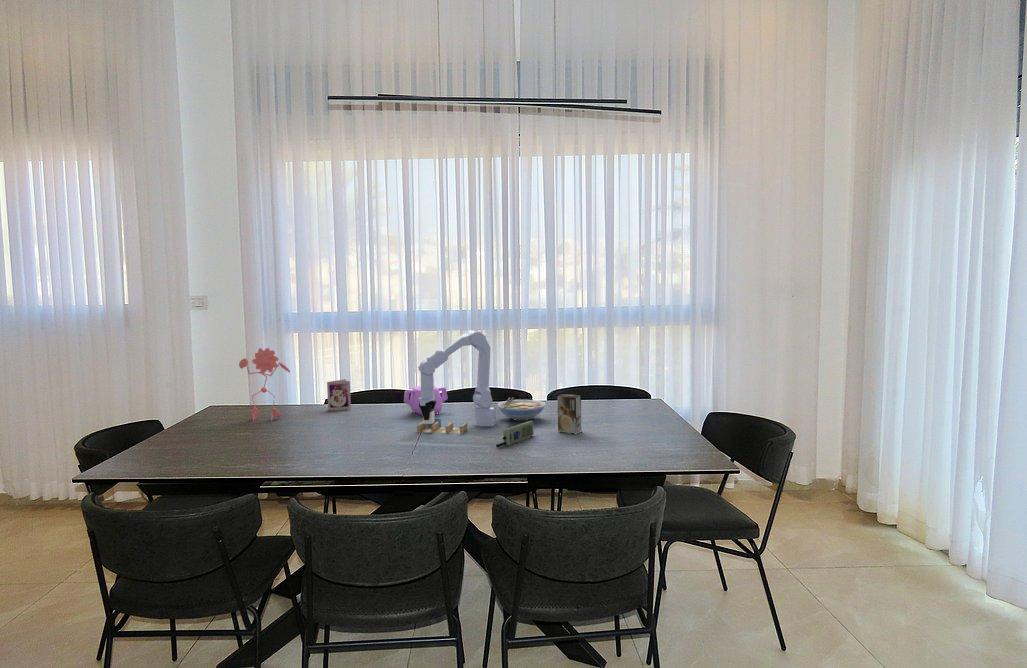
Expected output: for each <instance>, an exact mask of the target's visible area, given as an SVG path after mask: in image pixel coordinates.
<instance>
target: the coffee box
mask: <svg viewBox="0 0 1027 668" xmlns="http://www.w3.org/2000/svg"><path fill="white" fill-rule="evenodd" d="M556 398H557V403H556V404H557V432H558V431H559V432H558V433H560V432H568V433H567V434H571V433H578V432H580V431H581V430H582V429H583V428H582V395H579V394H567V393H562V394H559V395H558V396H557V397H556ZM582 431H583V430H582ZM582 431H581V432H582ZM581 432H580V433H581ZM578 434H579V433H578Z"/></svg>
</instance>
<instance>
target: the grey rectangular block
mask: <svg viewBox="0 0 1027 668" xmlns="http://www.w3.org/2000/svg"><path fill="white" fill-rule="evenodd" d="M435 415H436V414H434V409H432V408H431V410H430V417H429V420H424V418H423V417H422V422H423V424H433V423H434V422H435V418H436V417H435Z"/></svg>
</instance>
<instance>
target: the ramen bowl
mask: <svg viewBox="0 0 1027 668" xmlns="http://www.w3.org/2000/svg"><path fill="white" fill-rule="evenodd" d="M497 406H498V408H499V411H500V412H501V413H502V414H503V415H504V416H506V417H507V418H509V419H513V420H514V419H516V420H515V421H517V420H526V419H529V420H531V419H532V418H535V417H537V416H538V415H539V414H541V412H542V411H543V410H544V409H545V407H546V403H545V402H543V401H541V400H537V399H535V400H534V399H515V397H510V396H509V397H508V399H507V400H505V401H500V402H498V403H497ZM526 421H527V420H526Z"/></svg>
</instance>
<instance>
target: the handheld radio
mask: <svg viewBox="0 0 1027 668" xmlns="http://www.w3.org/2000/svg"><path fill="white" fill-rule="evenodd" d="M502 432H503V433H502V440H503V442H501V443H497V444H496V445H495V447H496V449H497V448H498V449H499V448H501V447H504V446H505V445H509V446H511V445H514V444H516V443H515V442H517V443H518V441H519V442H521V440H522V441H524V440H526V439H525V438H527V439H529V438H528V437H530V436H532V435H535V434H534V421H533V420H527V421H524V422H523V423H519V424H516V425H514V426H510V427H508V428H504V429H502ZM532 437H533V436H532ZM530 438H531V437H530ZM523 439H524V440H523ZM513 443H514V444H513Z"/></svg>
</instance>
